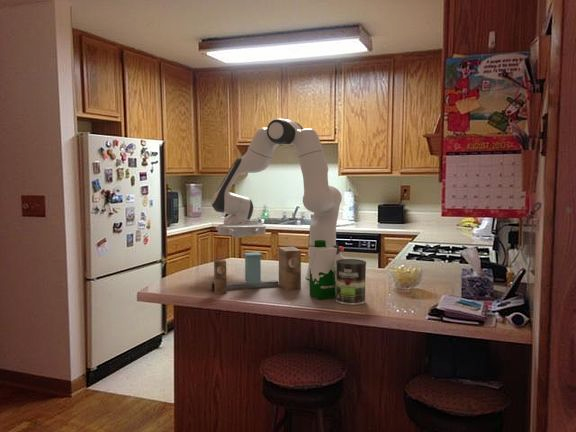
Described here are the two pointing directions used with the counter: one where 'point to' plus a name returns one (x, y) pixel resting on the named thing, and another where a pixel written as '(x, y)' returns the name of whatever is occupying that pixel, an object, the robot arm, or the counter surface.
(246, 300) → the counter surface
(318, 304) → the counter surface
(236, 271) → the counter surface
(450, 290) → the counter surface
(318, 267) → the milk carton
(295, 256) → the gauge cabinet
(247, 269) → the carriage
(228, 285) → the handrail
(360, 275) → the coffee can
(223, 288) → the gauge post
